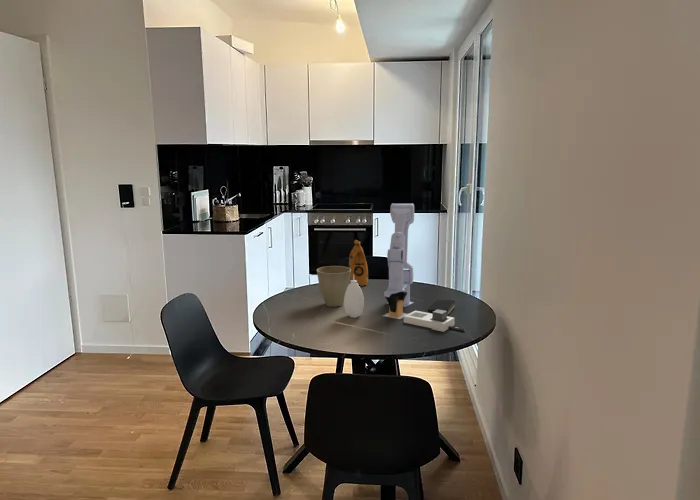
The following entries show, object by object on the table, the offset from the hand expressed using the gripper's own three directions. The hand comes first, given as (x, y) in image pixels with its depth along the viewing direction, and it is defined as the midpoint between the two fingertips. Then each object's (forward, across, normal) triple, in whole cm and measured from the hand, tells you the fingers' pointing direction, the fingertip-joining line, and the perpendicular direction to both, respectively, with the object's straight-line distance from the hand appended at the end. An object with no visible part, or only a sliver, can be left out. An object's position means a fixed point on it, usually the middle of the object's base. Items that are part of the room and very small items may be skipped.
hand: (396, 310), depth 208 cm
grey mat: (+2, 0, 0) cm, 2 cm away
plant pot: (+3, -1, +31) cm, 31 cm away
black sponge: (+3, +16, -12) cm, 20 cm away
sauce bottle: (+3, -11, +13) cm, 17 cm away
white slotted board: (+2, -2, -19) cm, 19 cm away
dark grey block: (+2, -2, -20) cm, 21 cm away
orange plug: (+2, 0, 0) cm, 2 cm away
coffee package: (+3, +36, +45) cm, 58 cm away
